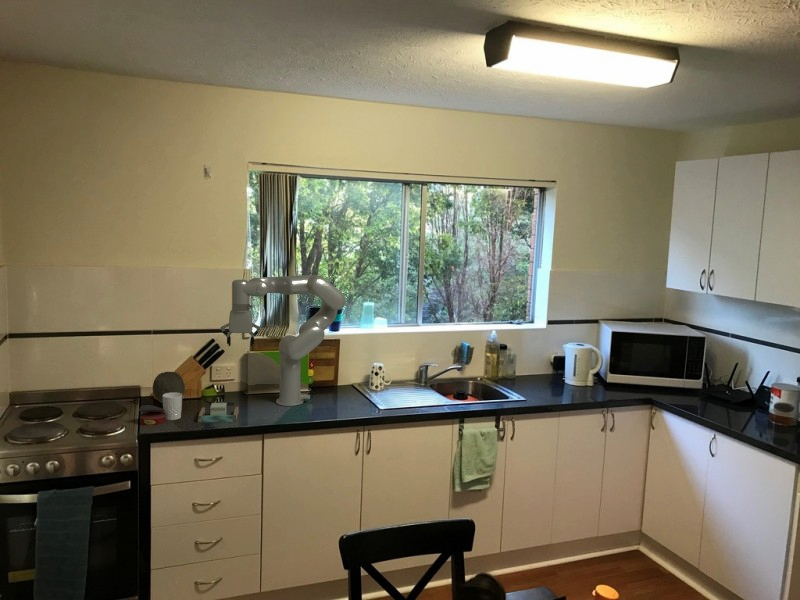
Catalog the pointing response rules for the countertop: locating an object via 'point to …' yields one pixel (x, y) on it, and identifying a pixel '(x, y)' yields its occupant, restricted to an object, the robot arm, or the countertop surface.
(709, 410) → the countertop surface
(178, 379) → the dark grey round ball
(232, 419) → the bay
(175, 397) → the white cup
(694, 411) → the countertop surface
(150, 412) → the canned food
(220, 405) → the crate
